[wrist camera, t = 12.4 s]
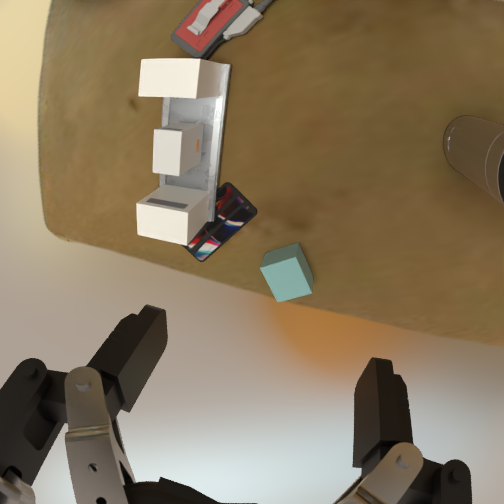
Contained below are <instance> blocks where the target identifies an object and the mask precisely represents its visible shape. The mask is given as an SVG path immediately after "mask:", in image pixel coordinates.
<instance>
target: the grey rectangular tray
mask: <svg viewBox="0 0 504 504" xmlns="http://www.w3.org/2000/svg"><path fill="white" fill-rule="evenodd" d="M231 69H232V65H229V64H222V71H221V79H220V88H219V96H218V97H208V98H197V99H195V98H178V97H163V107H162V122H161V127H164V126H167V125H171V124H175V123H178V122H183V123H194V124H204V128H203V139H202V151H201V163H199V164H197V165H196V166H194V167H193V168H191V169H190V170H188V171H187V172H185V173H183V174H182V175H180V176H174V175H167V174H160V173H159V187H161V186H162V185H166V184H167V185H173V186H179V187H185V188H191V189H197V190H203V191H208V192H209V203H208V217H207V221H209V222H212V221H213V222H214V220H215V219H216V207H217V196H218V189H219V178H220V167H221V157H222V147H223V138H224V128H225V119H226V110H227V102H228V93H229V85H230V77H231Z"/></svg>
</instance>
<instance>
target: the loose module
mask: <svg viewBox="0 0 504 504" xmlns="http://www.w3.org/2000/svg"><path fill="white" fill-rule="evenodd" d="M203 128H204V124H194V123H183V122H178V123H175V124H171V125H167V126H164V127H160V128H157V129H154V147H153V173H160V174H167V175H174V176H180V175H182V174H183V173H185V172H187V171H188V170H190V169H191V168H193V167H194V166H196V165H197V164H199V163H201V151H202V139H203Z"/></svg>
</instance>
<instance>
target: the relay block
mask: <svg viewBox="0 0 504 504" xmlns="http://www.w3.org/2000/svg"><path fill="white" fill-rule="evenodd" d="M260 269H261V271H262V273H263V275H264V277H265V279H266V281H267V283H268V285H269V287H270V288H271V290H272V292H273V294H274V296H275V298H276V300H277V302H282V301H285V300H289V299H293V298H297V297H300V296H304V295H308V294H311V293H312V287H313V275H312V272H311V270H310V268H309V265H308V263H307V261H306V259H305V256H304V254H303V252H302V249H301V247H300V245H299V243H295V244H292V245H289V246H286V247H283V248H280V249H277V250H274V251H270V252H267V253H265V256H264V258H263V261H262V264H261V267H260Z"/></svg>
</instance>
